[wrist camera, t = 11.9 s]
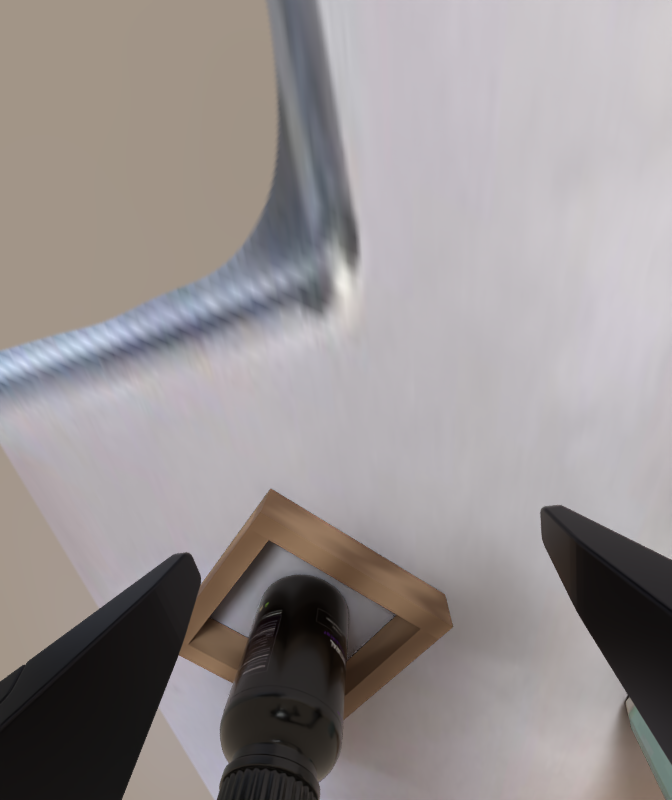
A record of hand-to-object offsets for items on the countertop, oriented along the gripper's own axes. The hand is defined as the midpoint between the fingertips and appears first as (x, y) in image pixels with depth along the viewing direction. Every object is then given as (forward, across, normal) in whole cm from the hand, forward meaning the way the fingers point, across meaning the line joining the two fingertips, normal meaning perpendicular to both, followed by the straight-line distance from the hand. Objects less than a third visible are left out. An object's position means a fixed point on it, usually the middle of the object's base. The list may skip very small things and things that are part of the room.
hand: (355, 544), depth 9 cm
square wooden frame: (+13, +8, +16) cm, 22 cm away
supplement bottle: (+13, +8, +16) cm, 22 cm away
